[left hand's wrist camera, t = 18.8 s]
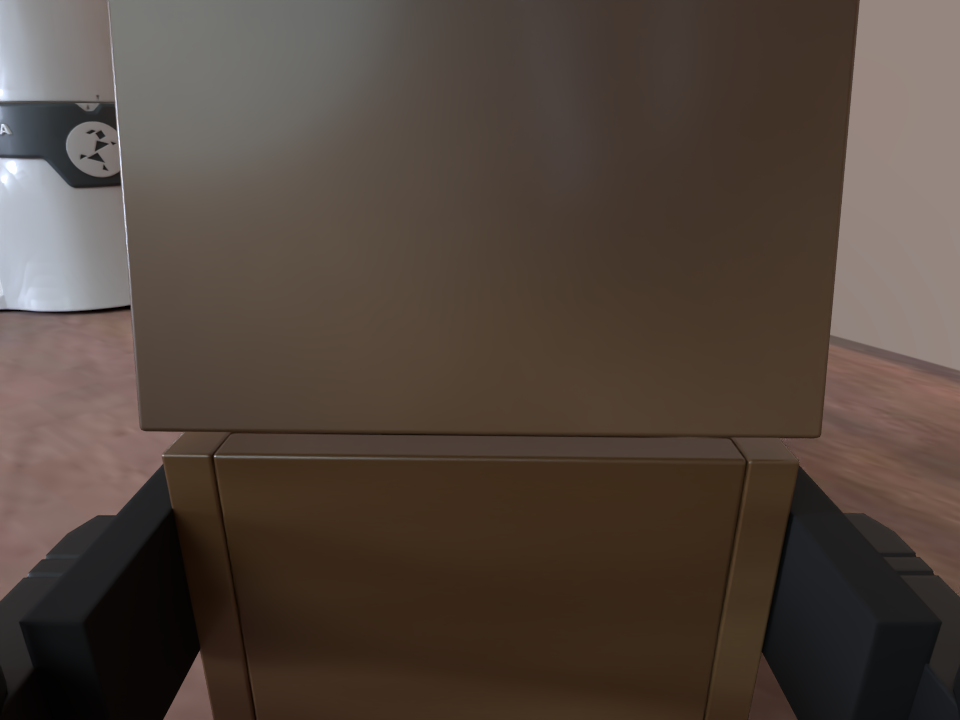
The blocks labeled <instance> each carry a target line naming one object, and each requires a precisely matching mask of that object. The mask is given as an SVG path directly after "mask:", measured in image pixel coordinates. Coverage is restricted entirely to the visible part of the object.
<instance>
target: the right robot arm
mask: <svg viewBox="0 0 960 720" xmlns="http://www.w3.org/2000/svg"><path fill="white" fill-rule="evenodd" d="M127 305H130V293H129V281H128V268H127V255H126V242H125V229H124V216H123V203H122V190H121V177H120V164H119V151H118V138H117V125H116V112H115V99H114V86H113V74H112V61H111V48H110V35H109V22H108V9H107V0H0V309H17V310H29V311H81V310H94V309H104V308H113V307H120V306H127Z"/></svg>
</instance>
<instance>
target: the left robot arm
mask: <svg viewBox="0 0 960 720" xmlns="http://www.w3.org/2000/svg"><path fill="white" fill-rule="evenodd" d="M915 554H916V553H915V552H914V551H913V550H912V549H911V548H910V547H909V546H908V545H907V544H906V543H905V542H904V541H903V540H902V539H901V538H900V537H899V536H898V535H897V534H896V533H895V532H894V531H892V530H891V529H889V528H887V527H886V526H884V525H882V524H881V523H879V522H877V521H876V520H874V519H872V518H871V517H869V516H867V515H866V514H864V513H842V512H841V511H840V509H839V508H838V507H837V506H836V505H835V504H834V503H833V502H832V501H831V500H830V499H829V497H828V496H827V495H826V494H825V493H824V492H823V491H822V490H821V489H820V488H819V487H818V485H817V484H816V483H815V482H814V481H813V480H812V479H811V478H810V477H809V476H808V475H807V473H806V472H805V471H804V470H803V469H802V468H801V467H800V466H799V468H798V473H797V478H796V483H795V488H794V493H793V498H792V503H791V508H790V513H789V518H788V523H787V528H786V533H785V538H784V543H783V548H782V553H781V558H780V563H779V568H778V573H777V578H776V583H775V588H774V593H773V598H772V603H771V608H770V613H769V618H768V623H767V628H766V633H765V638H764V643H763V647H762V653H763V654H764V656H765V658H766V660H767V662H768V664H769V666H770V668H771V670H772V672H773V674H774V675H775V677H776V679H777V681H778V683H779V685H780V687H781V689H782V691H783V693H784V694H785V696H786V698H787V700H788V702H789V704H790V706H791V708H792V710H793V712H794V713H795V715H796V717H797V719H798V720H960V597H959V596H958V595H957V594H956V593H955V592H954V591H953V590H952V589H951V588H950V587H949V586H948V585H947V584H946V583H945V582H944V581H943V580H942V579H941V578H940V577H939V576H934V573H933V570H932V569H931V568H930V567H929V566H928V565H927V564H926V563H925V562H924V561H923V560H922V559H921V558H920V557H916V555H915ZM199 651H200V644H199V639H198V634H197V629H196V624H195V619H194V613H193V608H192V603H191V598H190V593H189V588H188V583H187V578H186V573H185V568H184V563H183V558H182V553H181V547H180V542H179V537H178V532H177V527H176V522H175V517H174V512H173V508H172V505H171V500H170V495H169V490H168V485H167V480H166V475H165V470H164V465H162V466H161V467H160V468H159V469H158V470H157V471H156V472H155V473H154V475H153V476H152V477H151V478H150V479H149V480H148V481H147V482H146V483H145V484H144V485H143V487H142V488H141V489H140V490H139V491H138V492H137V493H136V494H135V495H134V496H133V497H132V499H131V500H130V501H129V502H128V503H127V504H126V505H125V506H124V507H123V508H122V509H121V511H120V512H119V513H118V514H117V515H98V516H96V517H94V518H93V519H91V520H89V521H88V522H86V523H84V524H83V525H81V526H79V527H78V528H76V529H74V530H73V531H71V532H70V533H68V534H67V535H66V536H65V537H64V538H63V539H62V540H61V541H60V542H59V543H58V544H57V545H56V546H55V547H54V548H53V549H52V550H51V551H50V552H49V553H48V554H47V555H46V559H42V560H41V561H40V562H39V563H38V564H37V565H36V566H35V567H34V568H33V569H32V570H31V571H30V572H29V573H28V577H27V578H23V579H22V580H21V581H20V582H19V583H18V584H17V585H16V586H15V587H14V588H13V589H12V590H11V591H10V592H9V593H8V594H7V595H6V596H5V597H4V598H3V599H2V600H1V601H0V720H163V719H164V717H165V715H166V713H167V711H168V709H169V708H170V706H171V704H172V702H173V700H174V698H175V696H176V694H177V692H178V690H179V689H180V687H181V685H182V683H183V681H184V679H185V677H186V675H187V673H188V671H189V670H190V668H191V666H192V664H193V662H194V660H195V658H196V656H197V654H198V652H199Z"/></svg>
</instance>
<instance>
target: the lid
mask: <svg viewBox="0 0 960 720" xmlns="http://www.w3.org/2000/svg"><path fill="white" fill-rule="evenodd" d="M859 1H860V0H107V9H108V22H109V35H110V48H111V61H112V74H113V86H114V99H115V112H116V125H117V138H118V151H119V164H120V177H121V190H122V203H123V216H124V229H125V242H126V255H127V268H128V281H129V293H130V306H131V319H132V332H133V345H134V358H135V371H136V384H137V397H138V410H139V423H140V428H141V430H143V431H167V432H261V433H356V434H451V435H546V436H640V437H735V438H818V437H820V435H821V428H822V417H823V406H824V395H825V383H826V372H827V361H828V350H829V338H830V327H831V316H832V305H833V293H834V282H835V271H836V259H837V248H838V237H839V226H840V214H841V204H842V192H843V181H844V169H845V158H846V147H847V136H848V125H849V114H850V102H851V91H852V80H853V69H854V57H855V46H856V35H857V24H858V12H859Z"/></svg>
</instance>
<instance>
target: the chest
mask: <svg viewBox="0 0 960 720" xmlns="http://www.w3.org/2000/svg"><path fill="white" fill-rule="evenodd" d="M162 459H163V465H164V470H165V475H166V480H167V485H168V490H169V495H170V500H171V505H172V508H173V512H174V517H175V522H176V527H177V532H178V537H179V542H180V547H181V553H182V558H183V563H184V568H185V573H186V578H187V583H188V588H189V593H190V598H191V603H192V608H193V613H194V619H195V624H196V629H197V634H198V639H199V644H200V653H201V658H202V663H203V668H204V673H205V678H206V684H207V689H208V694H209V699H210V704H211V709H212V714H213V719H214V720H748V717H749V712H750V707H751V702H752V697H753V692H754V687H755V682H756V677H757V672H758V667H759V662H760V657H761V652H762V647H763V643H764V638H765V633H766V628H767V623H768V618H769V613H770V608H771V603H772V598H773V593H774V588H775V583H776V578H777V573H778V568H779V563H780V558H781V553H782V548H783V543H784V538H785V533H786V528H787V523H788V518H789V513H790V508H791V503H792V498H793V493H794V488H795V483H796V478H797V473H798V468H799V460H798V459H797V458H796V457H795V456H794V455H793V454H792V452H791V451H790V450H789V449H788V448H787V447H786V446H785V445H784V443H783V442H782V441H781V440H780V439H779V438H735V437H640V436H546V435H451V434H356V433H261V432H183V433H182V434H181V435H180V436H179V437H178V438H177V439H176V440H175V442H174V443H173V444H172V445H171V446H170V447H169V448H168V449H167V450H166V451H165V452H164V453H163V455H162Z"/></svg>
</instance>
